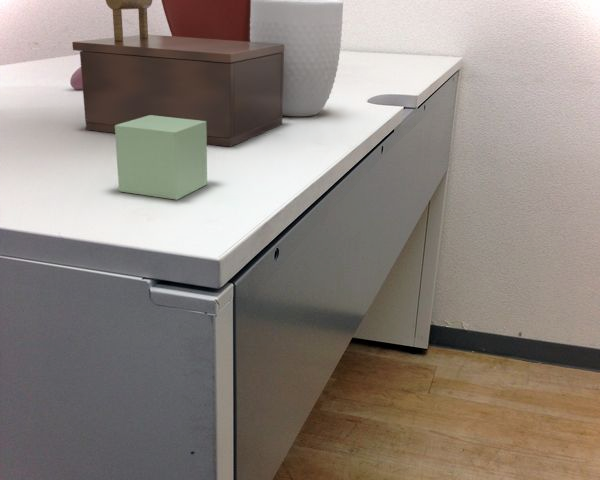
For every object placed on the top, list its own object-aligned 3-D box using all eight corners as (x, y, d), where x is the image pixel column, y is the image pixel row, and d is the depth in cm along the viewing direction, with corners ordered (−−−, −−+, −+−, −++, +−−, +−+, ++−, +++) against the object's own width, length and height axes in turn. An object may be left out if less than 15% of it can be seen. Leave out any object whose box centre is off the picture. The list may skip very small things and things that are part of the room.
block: (118, 191, 55) (114, 125, 53) (152, 176, 59) (149, 114, 57) (177, 200, 54) (175, 132, 52) (207, 184, 58) (206, 121, 56)
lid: (72, 50, 73) (67, -13, 70) (145, 41, 85) (143, -13, 83) (230, 63, 68) (230, -5, 65) (284, 51, 80) (285, -6, 77)
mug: (233, 100, 97) (233, -5, 92) (311, 99, 100) (316, -3, 95) (261, 120, 84) (263, -1, 79) (350, 119, 87) (357, 2, 82)
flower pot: (154, 68, 126) (150, -39, 119) (212, 60, 141) (211, -35, 135) (251, 78, 118) (252, -35, 111) (301, 68, 134) (304, -32, 127)
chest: (85, 129, 76) (79, 51, 72) (154, 110, 88) (152, 42, 85) (230, 146, 71) (230, 63, 68) (282, 123, 83) (284, 52, 80)
